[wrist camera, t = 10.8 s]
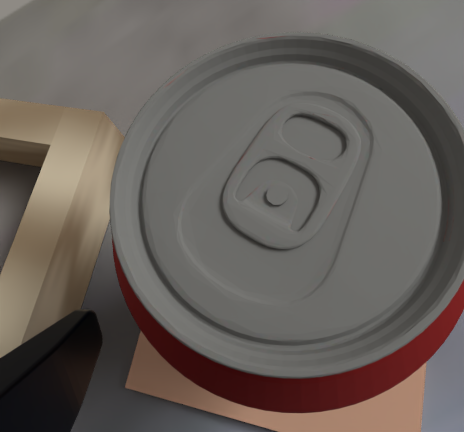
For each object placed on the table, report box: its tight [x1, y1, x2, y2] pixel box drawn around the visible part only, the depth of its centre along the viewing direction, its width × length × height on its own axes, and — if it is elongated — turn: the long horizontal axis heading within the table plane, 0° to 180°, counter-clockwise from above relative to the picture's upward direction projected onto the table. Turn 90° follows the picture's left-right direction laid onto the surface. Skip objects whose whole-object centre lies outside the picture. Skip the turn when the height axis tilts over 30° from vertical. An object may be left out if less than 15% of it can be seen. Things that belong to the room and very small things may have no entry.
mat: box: [125, 331, 426, 432], centre depth 17 cm, size 12×12×1 cm
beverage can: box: [109, 32, 464, 413], centre depth 11 cm, size 7×7×12 cm
